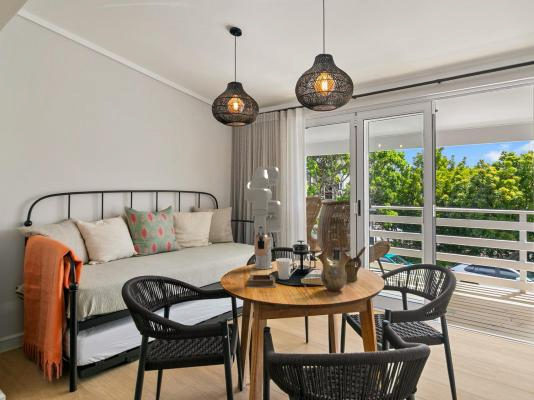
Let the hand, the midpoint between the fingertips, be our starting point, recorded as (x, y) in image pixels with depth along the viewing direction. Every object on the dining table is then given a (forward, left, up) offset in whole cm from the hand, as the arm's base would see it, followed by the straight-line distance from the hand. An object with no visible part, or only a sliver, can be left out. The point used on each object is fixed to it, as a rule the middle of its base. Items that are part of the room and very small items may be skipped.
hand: (261, 247), depth 169 cm
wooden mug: (-8, +49, -20) cm, 53 cm away
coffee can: (-25, +47, -20) cm, 57 cm away
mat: (0, +16, -19) cm, 25 cm away
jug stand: (0, 0, -19) cm, 19 cm away
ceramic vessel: (+10, +35, -20) cm, 41 cm away
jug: (0, +1, -4) cm, 4 cm away
